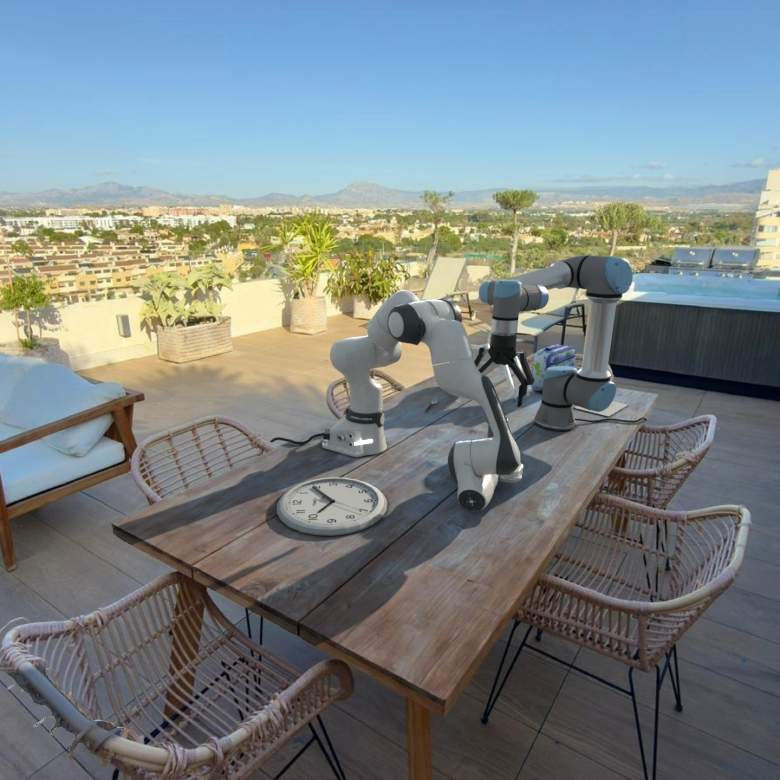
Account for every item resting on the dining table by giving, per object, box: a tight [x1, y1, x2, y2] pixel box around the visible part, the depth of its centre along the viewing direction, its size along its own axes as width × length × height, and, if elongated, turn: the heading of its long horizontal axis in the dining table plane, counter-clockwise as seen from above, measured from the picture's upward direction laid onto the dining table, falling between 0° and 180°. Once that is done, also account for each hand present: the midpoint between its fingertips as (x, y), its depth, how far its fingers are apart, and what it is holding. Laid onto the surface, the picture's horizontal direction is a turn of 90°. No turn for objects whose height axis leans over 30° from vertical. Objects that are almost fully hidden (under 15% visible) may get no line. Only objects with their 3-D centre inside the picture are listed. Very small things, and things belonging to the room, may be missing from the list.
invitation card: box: [573, 400, 629, 418], centre depth 226 cm, size 21×1×15 cm
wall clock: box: [276, 476, 388, 537], centre depth 142 cm, size 30×2×30 cm
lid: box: [486, 416, 509, 426], centre depth 162 cm, size 6×6×2 cm
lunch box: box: [530, 344, 577, 393], centre depth 247 cm, size 26×11×21 cm, turn 134°
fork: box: [425, 396, 439, 412], centre depth 222 cm, size 3×16×2 cm, turn 160°
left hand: (491, 456), depth 160 cm, fingers open, 8 cm apart
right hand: (498, 402), depth 160 cm, fingers open, 13 cm apart
